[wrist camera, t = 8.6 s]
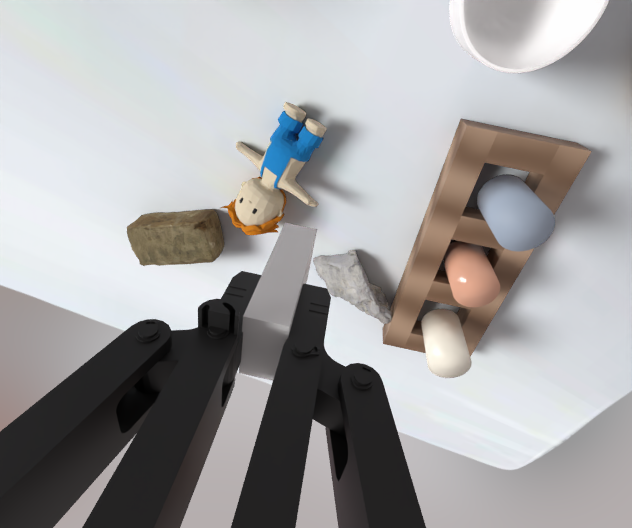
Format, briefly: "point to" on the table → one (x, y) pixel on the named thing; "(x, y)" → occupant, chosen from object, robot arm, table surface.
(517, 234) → the cap slate
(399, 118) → the table surface
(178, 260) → the stone block
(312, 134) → the toy
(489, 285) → the cap terracotta
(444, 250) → the wooden compartment tray
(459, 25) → the mug
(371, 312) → the stone
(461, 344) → the white rounded cylinder
